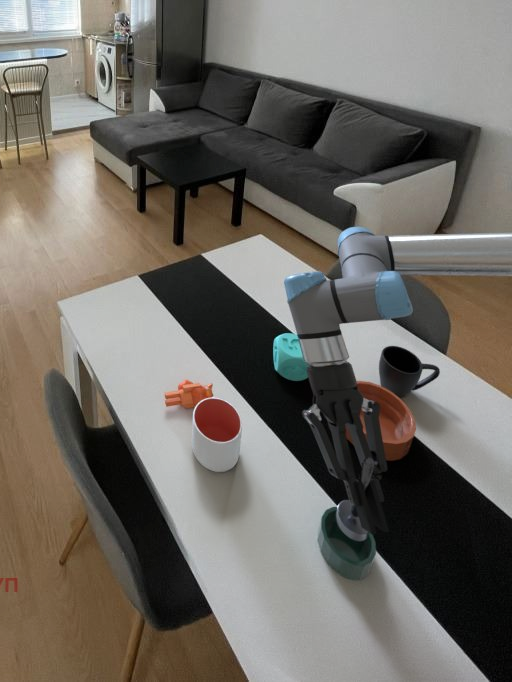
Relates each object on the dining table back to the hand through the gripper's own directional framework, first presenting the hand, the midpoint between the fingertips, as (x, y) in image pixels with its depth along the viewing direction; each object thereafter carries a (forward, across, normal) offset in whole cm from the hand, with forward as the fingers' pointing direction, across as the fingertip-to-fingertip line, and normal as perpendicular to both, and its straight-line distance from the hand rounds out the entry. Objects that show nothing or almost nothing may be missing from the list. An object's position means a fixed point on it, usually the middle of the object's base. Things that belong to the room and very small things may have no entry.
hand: (375, 528), depth 67 cm
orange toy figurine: (-15, +19, -36) cm, 44 cm away
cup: (-6, +17, -28) cm, 33 cm away
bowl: (-6, -19, -27) cm, 34 cm away
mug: (-11, -33, -32) cm, 48 cm away
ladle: (+2, 0, -7) cm, 8 cm away
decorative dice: (-18, -10, -40) cm, 45 cm away
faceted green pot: (+8, 0, -13) cm, 15 cm away
